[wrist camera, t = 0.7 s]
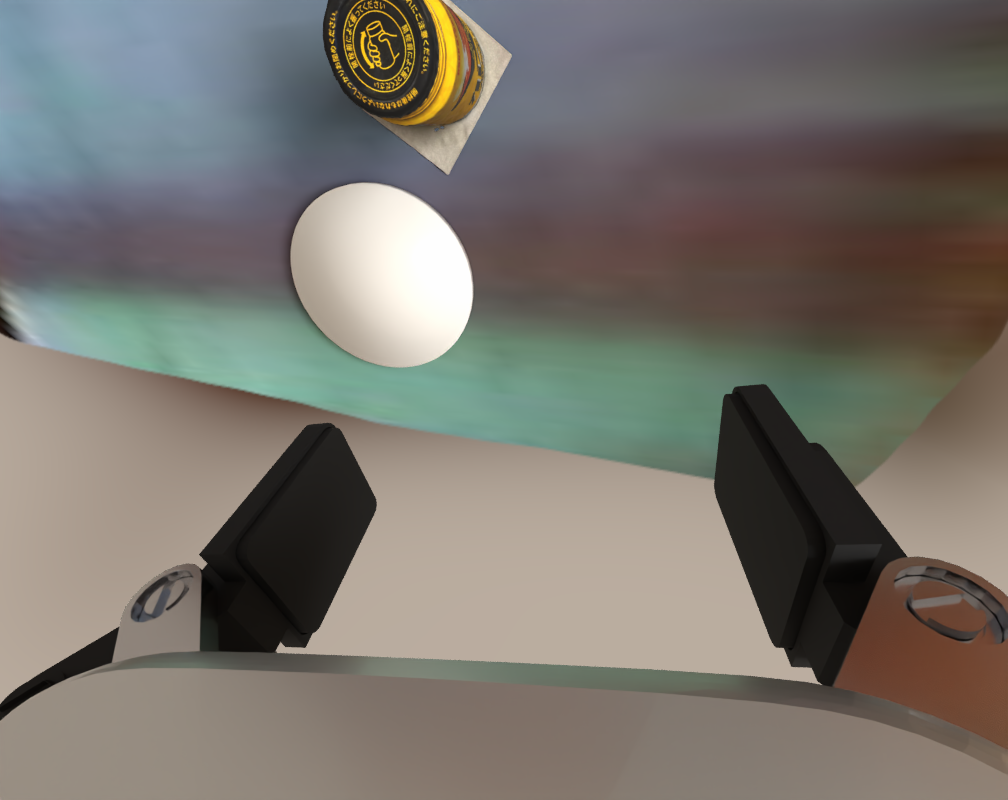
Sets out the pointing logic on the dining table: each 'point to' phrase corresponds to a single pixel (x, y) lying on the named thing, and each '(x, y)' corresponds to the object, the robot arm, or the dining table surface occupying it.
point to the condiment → (415, 69)
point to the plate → (382, 274)
